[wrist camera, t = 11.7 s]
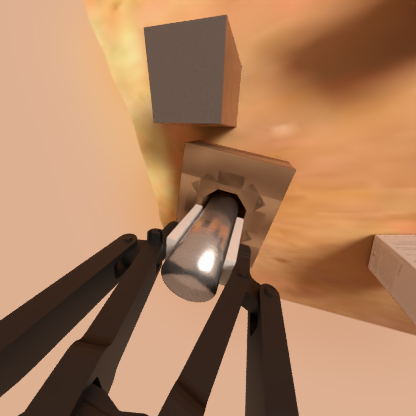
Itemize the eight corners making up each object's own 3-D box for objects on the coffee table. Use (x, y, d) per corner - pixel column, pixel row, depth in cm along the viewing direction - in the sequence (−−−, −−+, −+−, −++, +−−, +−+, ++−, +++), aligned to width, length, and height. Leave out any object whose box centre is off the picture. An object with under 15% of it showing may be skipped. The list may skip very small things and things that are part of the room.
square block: (191, 69, 19) (143, 27, 11) (241, 66, 18) (226, 14, 10) (192, 126, 22) (153, 122, 14) (236, 126, 20) (221, 123, 13)
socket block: (199, 140, 22) (185, 142, 18) (288, 162, 20) (296, 170, 16) (186, 223, 29) (173, 239, 25) (252, 245, 27) (251, 267, 23)
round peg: (211, 190, 21) (162, 248, 10) (242, 198, 20) (223, 271, 10) (206, 216, 22) (159, 288, 12) (234, 225, 22) (210, 310, 11)
